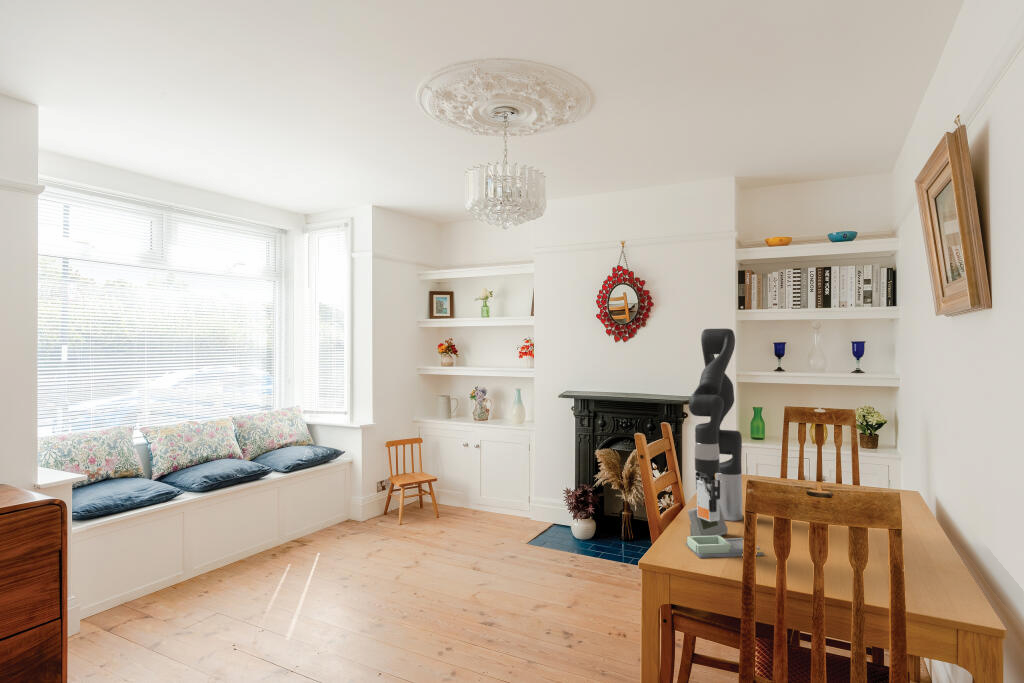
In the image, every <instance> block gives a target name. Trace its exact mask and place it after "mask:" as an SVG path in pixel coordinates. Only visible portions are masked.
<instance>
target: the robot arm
mask: <svg viewBox="0 0 1024 683" xmlns="http://www.w3.org/2000/svg"><path fill="white" fill-rule="evenodd" d="M700 341H701V342H700V343H701V349H702V350H701V351H702V355H703V361H704V369H703V370H702V372H701V375H700V379H699V384H698V385H697V387H696V388H695V391H693V393H692V395H691V397H690V398H689V401H688V410H689V412H690V414H691V415H693V416H694V417H710V421H708V422H704V423H703V422H702V423H699V424H696V426H695V430H694V432H695V433H694V434H695V436H694V440H695V442H694V443H695V445H694V469H695V471H696V472H695V490H696V491H697V480H700V481H703V484H704V487H705V491H706V493H707V494H708V497H709V511H710V512H716V511H717V501H716V500H718V499H719V504H720V507H721V510H722V513H723V516H724V520H725V521H732V522H733V521H736V522H737V521H740V520H743V480H742V479H743V478H742V475H743V474H742V450H743V449H742V448H743V446H742V444H743V440H742V433H741V432H740V431H739V430H732V429H721V424H722V422H723V421H724V419H725V417H726V416H727V414H728V413H729V411H731V409H732V407H733V405H734V403H735V392H734V389H735V388H734V384H733V382H732V380H731V379H730V378H729V376H728V375H727V374H726V370H727V368H728V366H729V363H730V361H731V359H732V356H733V353H734V351H735V347H736V346H735V345H736V337H735V333H734V330H733V329H731V328H705V329H703V331H702V332H701V337H700ZM715 355H717V357H715ZM720 455H728V456H729V455H730V456H731V458H730V459H728V460H725V461H722V462H720ZM707 484H710V485H711V490H709V489H708V486H707ZM710 492H711V493H710ZM716 492H717V493H716Z"/></svg>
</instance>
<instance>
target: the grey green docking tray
mask: <svg viewBox="0 0 1024 683" xmlns="http://www.w3.org/2000/svg"><path fill="white" fill-rule="evenodd" d="M743 538H744V537H739V538H738V537H736V538H735V537H733V538H732V537H731V538H723V537H722V536H719V535H714V536H687V537H686V540H687V542H685V546H686V545H687V546H688V547H689V548H690V549H691V550H690V549H689V548H688V547H687V546H686V547H687V548H688V549H689V550H690V551H691V552H692V553H694V554H695V556H697V557H698V558H699V559H706V558H707V559H710V558H709V557H713V559H714V557H716V558H734V557H735V558H737V557H736V556H739V557H740V556H741V557H743V556H742V554H743V547H741V548H731V544H730V543H729V542H727V541H737V540H743ZM756 546H757V556H756V557H761V556H760V555H764V552H763V551H762V549H761V548H760V547H759V546H758V545H756ZM764 556H765V555H764Z"/></svg>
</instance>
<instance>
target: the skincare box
mask: <svg viewBox="0 0 1024 683" xmlns="http://www.w3.org/2000/svg"><path fill="white" fill-rule="evenodd" d="M707 486H708V489H709V490H711V485H710V484H707ZM710 493H711V492H710ZM716 493H717V492H716ZM716 501H717V511H716V512H710V511H709V497H708V494H707V493H706V491H705V487H704V484H703V481H700V480H697V490H696V507H697V517H699V518H702V519H704V520H707V521H709V522H712V521H718V520H720V511H719V499H718V500H716Z"/></svg>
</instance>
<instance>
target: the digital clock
mask: <svg viewBox="0 0 1024 683" xmlns="http://www.w3.org/2000/svg"><path fill="white" fill-rule="evenodd" d="M719 511H720V520H718V521H712V522H709V521H707V520H704V519H702V518H699V517H697V506H695V507H694V508H693V507H692V508H690V509H688V511H687V514H688V518H689V522H690V525H689V533H690V534H689V535H690V536H714V535H719V536H721V537H722V536H724V535H727V534H728V532H729V530H728V525H727V523H726V520H724V516H723V513H722V510H721V507H720V504H719Z"/></svg>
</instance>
